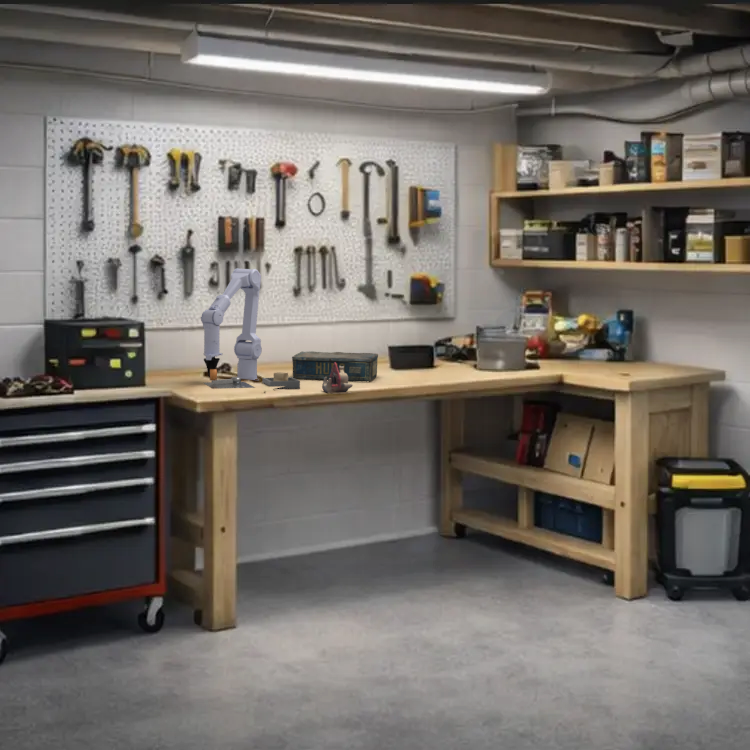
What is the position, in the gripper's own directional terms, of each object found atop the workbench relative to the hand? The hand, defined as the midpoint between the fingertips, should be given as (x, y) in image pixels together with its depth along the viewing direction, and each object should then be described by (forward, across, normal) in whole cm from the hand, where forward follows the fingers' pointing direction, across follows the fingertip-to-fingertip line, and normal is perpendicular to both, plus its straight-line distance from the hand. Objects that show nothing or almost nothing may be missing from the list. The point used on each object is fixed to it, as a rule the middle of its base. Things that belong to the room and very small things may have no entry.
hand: (211, 377), depth 446 cm
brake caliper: (+4, -7, -48) cm, 48 cm away
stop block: (+3, +2, -26) cm, 26 cm away
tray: (+3, +2, -26) cm, 26 cm away
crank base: (+3, -4, -7) cm, 9 cm away
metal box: (+4, +36, -45) cm, 57 cm away
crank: (+2, 0, -5) cm, 6 cm away
